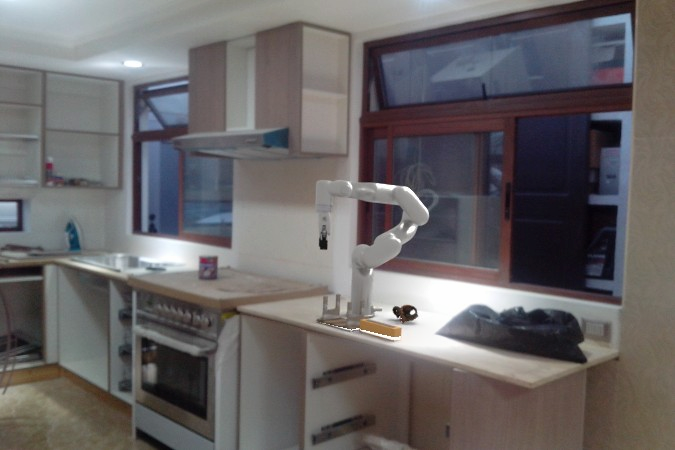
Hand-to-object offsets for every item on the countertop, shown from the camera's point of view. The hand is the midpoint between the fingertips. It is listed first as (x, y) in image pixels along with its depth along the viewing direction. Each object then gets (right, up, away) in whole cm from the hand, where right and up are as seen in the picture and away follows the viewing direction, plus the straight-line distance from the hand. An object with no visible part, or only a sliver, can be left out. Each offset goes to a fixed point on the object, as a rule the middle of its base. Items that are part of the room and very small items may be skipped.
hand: (323, 248), depth 277 cm
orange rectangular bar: (+23, -34, -27) cm, 49 cm away
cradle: (+8, -31, -13) cm, 35 cm away
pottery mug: (+35, -32, 0) cm, 48 cm away
